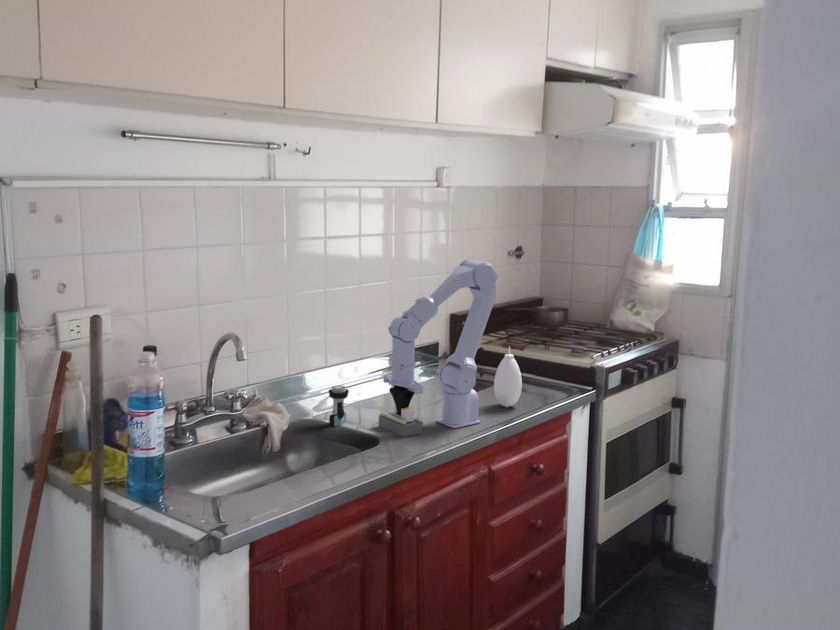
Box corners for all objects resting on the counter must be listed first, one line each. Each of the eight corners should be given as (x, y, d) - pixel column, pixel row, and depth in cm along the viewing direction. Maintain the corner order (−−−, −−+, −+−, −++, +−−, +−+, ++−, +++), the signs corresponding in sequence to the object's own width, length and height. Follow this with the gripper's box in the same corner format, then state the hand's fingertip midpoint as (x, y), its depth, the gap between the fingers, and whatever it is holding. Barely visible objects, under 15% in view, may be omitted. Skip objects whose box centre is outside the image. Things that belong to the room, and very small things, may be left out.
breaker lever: (408, 418, 211) (408, 406, 211) (414, 420, 209) (414, 408, 209) (400, 419, 210) (401, 408, 209) (406, 422, 208) (406, 410, 207)
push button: (339, 418, 221) (339, 382, 219) (355, 421, 218) (355, 385, 217) (324, 424, 215) (324, 387, 214) (340, 427, 213) (341, 390, 211)
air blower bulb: (525, 408, 235) (528, 347, 232) (504, 411, 231) (506, 349, 228) (509, 401, 242) (512, 342, 239) (488, 404, 238) (490, 344, 235)
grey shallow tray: (397, 422, 218) (397, 408, 218) (422, 433, 210) (422, 418, 209) (378, 426, 215) (378, 411, 214) (403, 437, 206) (404, 422, 206)
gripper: (374, 360, 212) (373, 410, 214) (407, 371, 201) (406, 424, 203) (396, 356, 216) (395, 406, 219) (430, 367, 205) (428, 419, 207)
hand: (402, 414), depth 211 cm, fingers closed
